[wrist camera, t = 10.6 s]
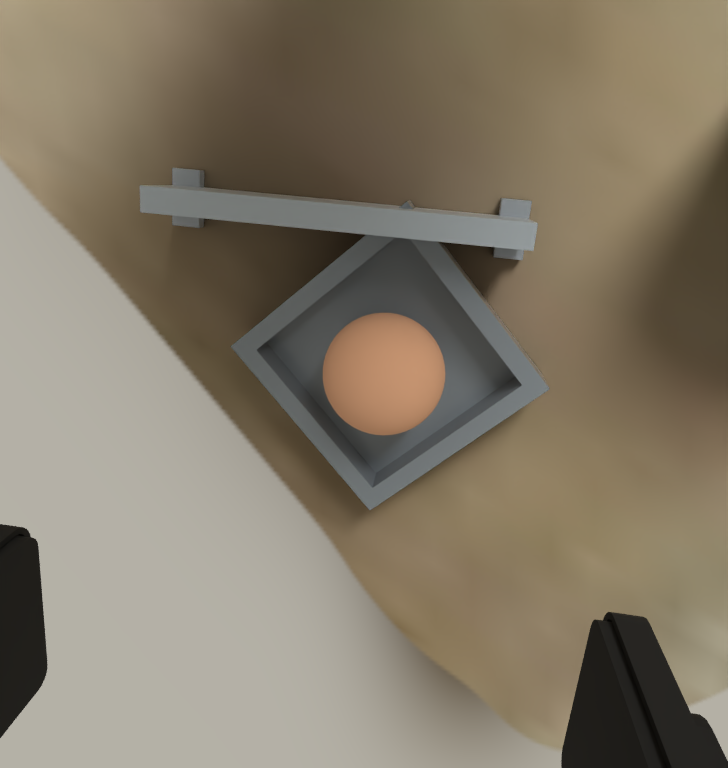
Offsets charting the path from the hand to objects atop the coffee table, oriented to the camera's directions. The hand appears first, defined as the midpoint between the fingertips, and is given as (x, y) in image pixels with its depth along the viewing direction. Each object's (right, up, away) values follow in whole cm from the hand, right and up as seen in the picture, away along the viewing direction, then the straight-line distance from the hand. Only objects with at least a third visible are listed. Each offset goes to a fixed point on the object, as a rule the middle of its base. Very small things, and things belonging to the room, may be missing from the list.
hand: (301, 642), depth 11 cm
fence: (0, +12, +17) cm, 21 cm away
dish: (+2, +6, +19) cm, 20 cm away
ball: (+2, +5, +16) cm, 17 cm away
